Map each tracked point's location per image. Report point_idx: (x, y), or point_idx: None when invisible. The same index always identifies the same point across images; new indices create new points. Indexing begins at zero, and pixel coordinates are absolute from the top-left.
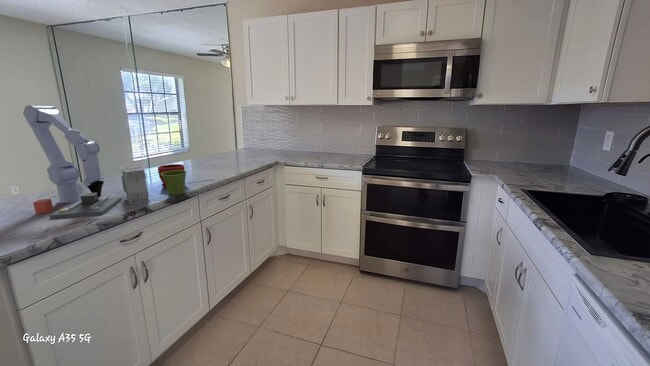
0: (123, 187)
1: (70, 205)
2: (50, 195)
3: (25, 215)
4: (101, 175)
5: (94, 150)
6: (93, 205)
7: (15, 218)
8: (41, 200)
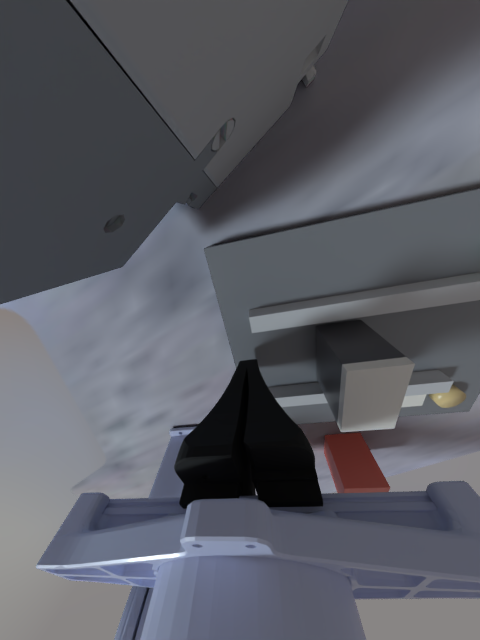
0: (103, 268)
1: None
2: None
3: None
4: (69, 554)
5: None
6: (474, 288)
7: (387, 466)
8: None
